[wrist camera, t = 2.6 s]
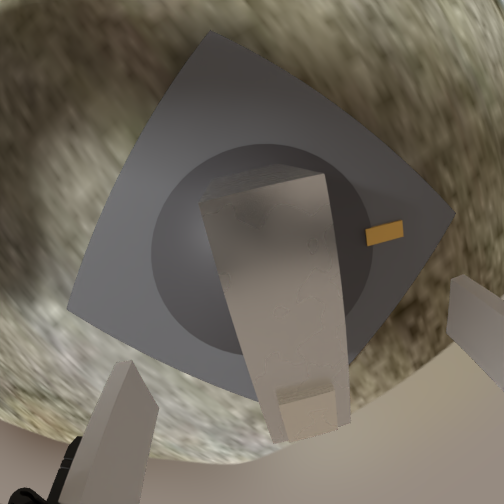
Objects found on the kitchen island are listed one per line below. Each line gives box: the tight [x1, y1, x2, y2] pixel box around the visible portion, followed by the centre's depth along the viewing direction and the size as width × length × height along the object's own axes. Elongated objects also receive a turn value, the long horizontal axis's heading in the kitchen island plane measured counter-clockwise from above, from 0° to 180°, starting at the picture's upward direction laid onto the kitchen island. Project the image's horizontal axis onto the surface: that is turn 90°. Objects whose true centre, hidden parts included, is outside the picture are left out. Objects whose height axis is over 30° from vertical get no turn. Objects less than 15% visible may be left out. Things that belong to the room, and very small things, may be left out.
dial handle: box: [198, 164, 351, 444], centre depth 15 cm, size 12×4×10 cm, turn 13°
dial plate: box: [67, 30, 456, 402], centre depth 20 cm, size 22×22×2 cm
